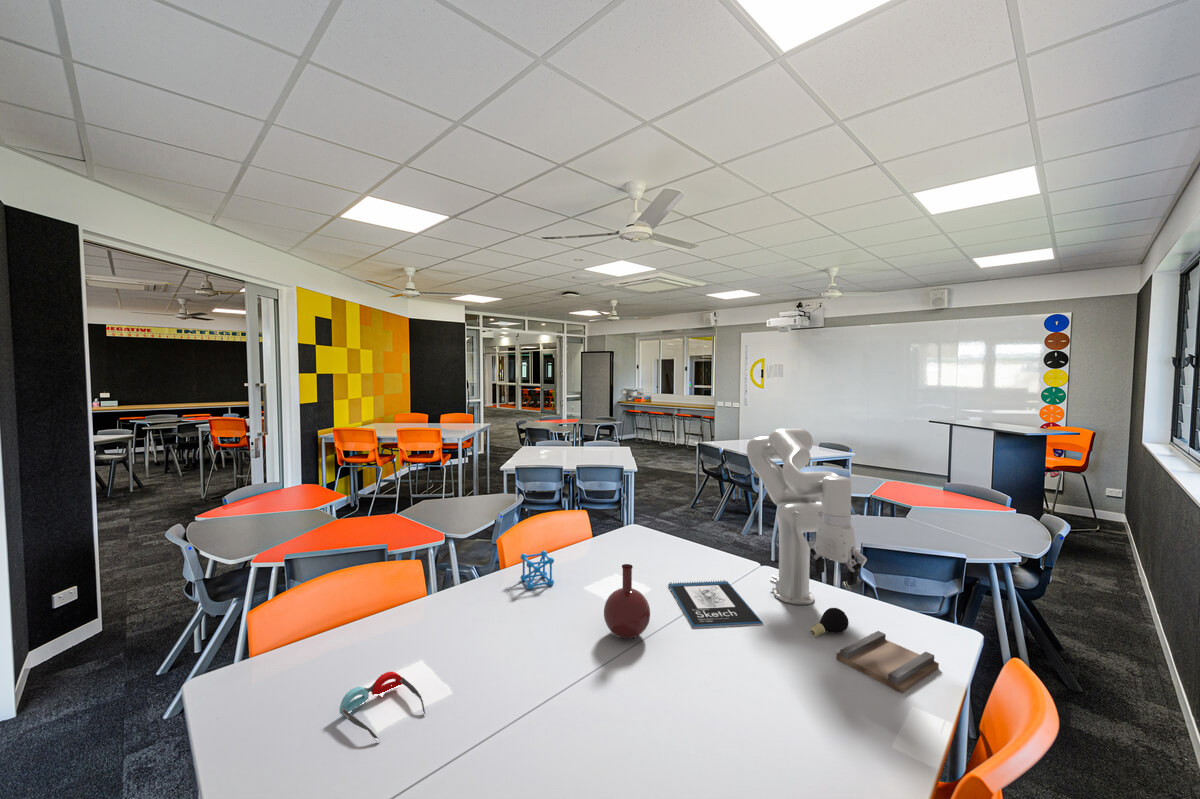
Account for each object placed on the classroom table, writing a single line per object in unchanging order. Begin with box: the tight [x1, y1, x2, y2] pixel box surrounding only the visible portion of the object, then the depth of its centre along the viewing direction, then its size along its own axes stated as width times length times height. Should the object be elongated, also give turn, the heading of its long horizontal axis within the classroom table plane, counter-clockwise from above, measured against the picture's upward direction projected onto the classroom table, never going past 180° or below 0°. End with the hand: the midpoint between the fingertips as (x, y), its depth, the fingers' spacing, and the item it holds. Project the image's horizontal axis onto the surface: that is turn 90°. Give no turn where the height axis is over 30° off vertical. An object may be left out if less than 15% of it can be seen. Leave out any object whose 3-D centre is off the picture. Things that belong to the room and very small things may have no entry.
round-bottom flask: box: [603, 563, 651, 640], centre depth 136 cm, size 13×13×20 cm
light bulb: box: [809, 607, 850, 638], centre depth 138 cm, size 7×7×12 cm
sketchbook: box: [667, 579, 764, 629], centre depth 156 cm, size 22×30×2 cm
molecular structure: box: [519, 550, 555, 590], centre depth 171 cm, size 10×10×10 cm
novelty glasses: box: [339, 671, 426, 739], centre depth 104 cm, size 14×15×5 cm
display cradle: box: [835, 630, 940, 693], centre depth 123 cm, size 16×18×3 cm
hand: (835, 578), depth 138 cm, fingers open, 9 cm apart
